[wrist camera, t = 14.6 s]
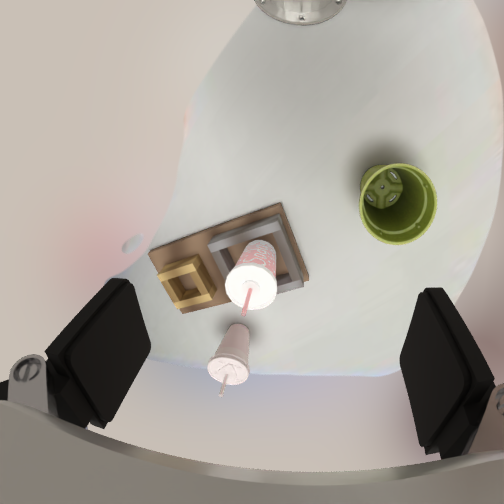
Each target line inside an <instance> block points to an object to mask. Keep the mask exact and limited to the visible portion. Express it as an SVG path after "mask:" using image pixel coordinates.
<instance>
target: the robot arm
mask: <svg viewBox="0 0 504 504" xmlns="http://www.w3.org/2000/svg"><path fill="white" fill-rule="evenodd" d="M254 1H255V2H256V4H257V5H258V7H259V8H260V9H261V10H262V11H263V12H265V13H266V14H267V15H269V16H271V17H273V18H274V19H276V20H279V21H282V22H285V23H289V24H295V25H311V24H317V23H321V22H324V21H326V20H328V19H331V18H332V17H333V16H335V15H336V14H338V13H339V11H340V10H341V9H342V8H343V6H344V4H345V3H346V0H254ZM263 2H265V4H262V3H263ZM336 3H339V4H336ZM301 18H303V19H304V21H301V20H300V19H301ZM150 350H151V342H150V339H149V336H148V333H147V330H146V326H145V323H144V320H143V316H142V313H141V310H140V306H139V303H138V299H137V296H136V292H135V288H134V286H133V284H131V283H130V282H129V280H128V279H121V278H112V279H110V280H109V281H108V282H107V283H106V284H105V285H104V286H103V288H101V290H100V291H99V292H98V293H97V294H96V295H95V296H94V297H93V298H92V299H91V300H90V301H89V302H88V303H87V304H86V305H85V306H84V307H83V309H82V310H81V311H80V312H79V313H78V314H77V315H76V316H75V317H74V319H72V321H71V322H70V323H69V324H68V325H67V326H66V327H65V328H64V329H63V331H62V332H61V333H60V334H59V335H58V336H57V337H56V339H55V340H54V341H53V342H52V343H51V345H50V346H49V347H48V348H47V349H46V350H45V353H46V354H47V356H48V360H47V361H45V360H44V358H43V357H41V356H40V355H35V354H32V355H27V356H25V357H22V358H21V359H19V360H18V361H17V362H16V363H15V364H14V365H13V367H12V368H11V371H10V375H9V380H6V381H3V382H0V504H504V383H503V384H500V385H498V386H495V384H494V382H493V381H494V376H493V374H492V372H491V370H490V368H489V366H488V364H487V362H486V360H485V358H484V356H483V354H482V353H481V351H480V349H479V347H478V345H477V344H476V342H475V340H474V338H473V336H472V335H471V333H470V331H469V329H468V328H467V326H466V324H465V323H464V321H463V319H462V318H461V316H460V314H459V313H458V311H457V309H456V308H455V306H454V305H453V303H452V301H451V300H450V298H449V297H448V295H447V294H446V292H445V291H444V289H443V288H425V289H424V291H423V292H421V293H420V294H419V295H418V299H417V302H416V306H415V310H414V313H413V317H412V320H411V323H410V327H409V330H408V333H407V336H406V339H405V342H404V345H403V348H402V351H401V354H400V367H401V370H402V374H403V377H404V381H405V385H406V388H407V392H408V396H409V400H410V405H411V409H412V413H413V417H414V422H415V426H416V431H417V436H418V440H419V444H420V446H421V447H424V448H425V454H426V455H428V454H433V453H437V452H439V453H440V456H441V460H437V461H432V462H426V463H420V464H414V465H407V466H400V467H391V468H383V469H373V470H361V471H344V472H291V471H272V470H259V469H249V468H241V467H233V466H225V465H219V464H212V463H207V462H201V461H195V460H191V459H186V458H181V457H176V456H172V455H167V454H164V453H160V452H156V451H151V450H148V449H145V448H141V447H137V446H134V445H131V444H127V443H124V442H121V441H118V440H115V439H112V438H109V437H106V436H103V435H100V434H98V433H95V432H92V431H90V430H88V428H87V425H88V424H89V422H90V423H91V424H92V425H94V426H97V427H100V428H102V429H104V428H105V426H106V424H107V423H108V422H111V421H112V420H113V418H114V416H115V414H116V412H117V411H118V409H119V407H120V405H121V403H122V401H123V399H124V398H125V396H126V394H127V392H128V390H129V388H130V387H131V385H132V383H133V381H134V379H135V378H136V376H137V374H138V372H139V370H140V369H141V367H142V365H143V363H144V361H145V360H146V358H147V356H148V354H149V353H150Z"/></svg>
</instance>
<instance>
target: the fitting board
mask: <svg viewBox="0 0 504 504" xmlns="http://www.w3.org/2000/svg"><path fill="white" fill-rule="evenodd" d="M255 240H263V241H266V242H268V243H270V244H271V245H272V246H273V247H274V249H275V251H276V281H277V293H276V294H279V293H283V292H287V291H290V290H294V289H297V288H301V287H304V282H305V281H309V276H308V273H307V270H306V267H305V265H304V262H303V259H302V257H301V254H300V251H299V249H298V246H297V243H296V241H295V238H294V236H293V233H292V230H291V228H290V225H289V223H288V220H287V218H286V215H285V212H284V210H283V207H282V205H281V203H278V204H276V205H273V206H270V207H267V208H264V209H261V210H258V211H256V212H253V213H250V214H247V215H244V216H241V217H239V218H236V219H233V220H230V221H228V222H225V223H222V224H219V225H217V226H214V227H211V228H208V229H206V230H203V231H200V232H198V233H195V234H192V235H190V236H187V237H184V238H182V239H179V240H176V241H174V242H171V243H169V244H166V245H163V246H161V247H158V248H156V249H153V250H151V251H150V252H149V253H148V255H149V257H150V259H151V261H152V263H153V264H154V266H155V268H156V270H157V272H158V275H157V276H158V278H159V279H160V281H161V283H162V285H163V286H164V288H165V290H166V291H167V293H168V295H169V296H170V298H171V300H172V301H173V303H174V305H175V306H176V308H177V309H180V311H181V312H182V314H184V313H189V312H193V311H197V310H201V309H205V308H209V307H213V306H217V305H221V304H224V303H228V302H232V301H231V299H230V298H229V296H228V295H227V294H226V289H225V282H226V279H227V276H228V274H229V272H230V271H231V270H232V269H233V268H234V267H235V265H236V264H237V262H238V260H239V258H240V256H241V255H242V253H243V251H244V249H245V248H246V246H247V245H248V244H249V243H250V242H253V241H255Z"/></svg>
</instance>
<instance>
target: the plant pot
mask: <svg viewBox="0 0 504 504" xmlns="http://www.w3.org/2000/svg"><path fill="white" fill-rule="evenodd" d="M390 172H393V173H394V174H395V175H396V177H397V179H395V178H394V177H393V175H392V174H391V173H390ZM381 186H384V189H381ZM360 190H361V195H360V200H359V212H360V217H361V220H362V222H363V225H364V226H365V228H366V229H367V231H368V232H369V233H370V234H371V235H372V236H373V237H374V238H376V239H377V240H379V241H381V242H384V243H386V244H391V245H403V244H407V243H410V242H412V241H414V240H416V239H418V238H419V237H421V236H422V235H423V234H424V233H425V232H426V231H427V230H428V228H429V227H430V225H431V224H432V222H433V219H434V217H435V214H436V209H437V195H436V191H435V188H434V185H433V183H432V181H431V180H430V178H429V177H428V176H427V175H426V174H425V173H424V172H423V171H422V170H420V169H419V168H417V167H415V166H412V165H409V164H404V163H395V164H390V165H376V166H373V167H372V168H370V169H369V170H367V171H366V173H365V174H364V175H363V177H362V180H361V185H360ZM367 194H368V195H369V196H370V197H371V199H373V200H374V202H371V201H370V200H369V199H368V198H367ZM395 195H396V198H395V199H394V200H393V201H392V202H389V200H390V199H392V198H393V197H394V196H395Z"/></svg>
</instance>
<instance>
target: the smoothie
mask: <svg viewBox="0 0 504 504" xmlns="http://www.w3.org/2000/svg"><path fill="white" fill-rule="evenodd" d="M249 334H250V332H249V329H248V328H247V327H246V326H245V325H242V324H233V325H231V326H230V327H229V329H228V331H227V333H226V335H225V336H224V338H223V340H222V342H221V344H220V346H219V347H218V349H217V351H216V353H215V355H214V356H212V357H211V358H210V360H209V364H208V372H209V374H210V375H211V376H212V377H213V378H214V379H216V380H217V381H219V382H221V383H222V387H221V390H220V393H219V396H220V397H222V396H223V393H224V390H225V386H226V384H229V385H236V384H241V383H243V382H244V381H246V380H247V378H248V375H249V372H250V369H249V366H248V354H249Z"/></svg>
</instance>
